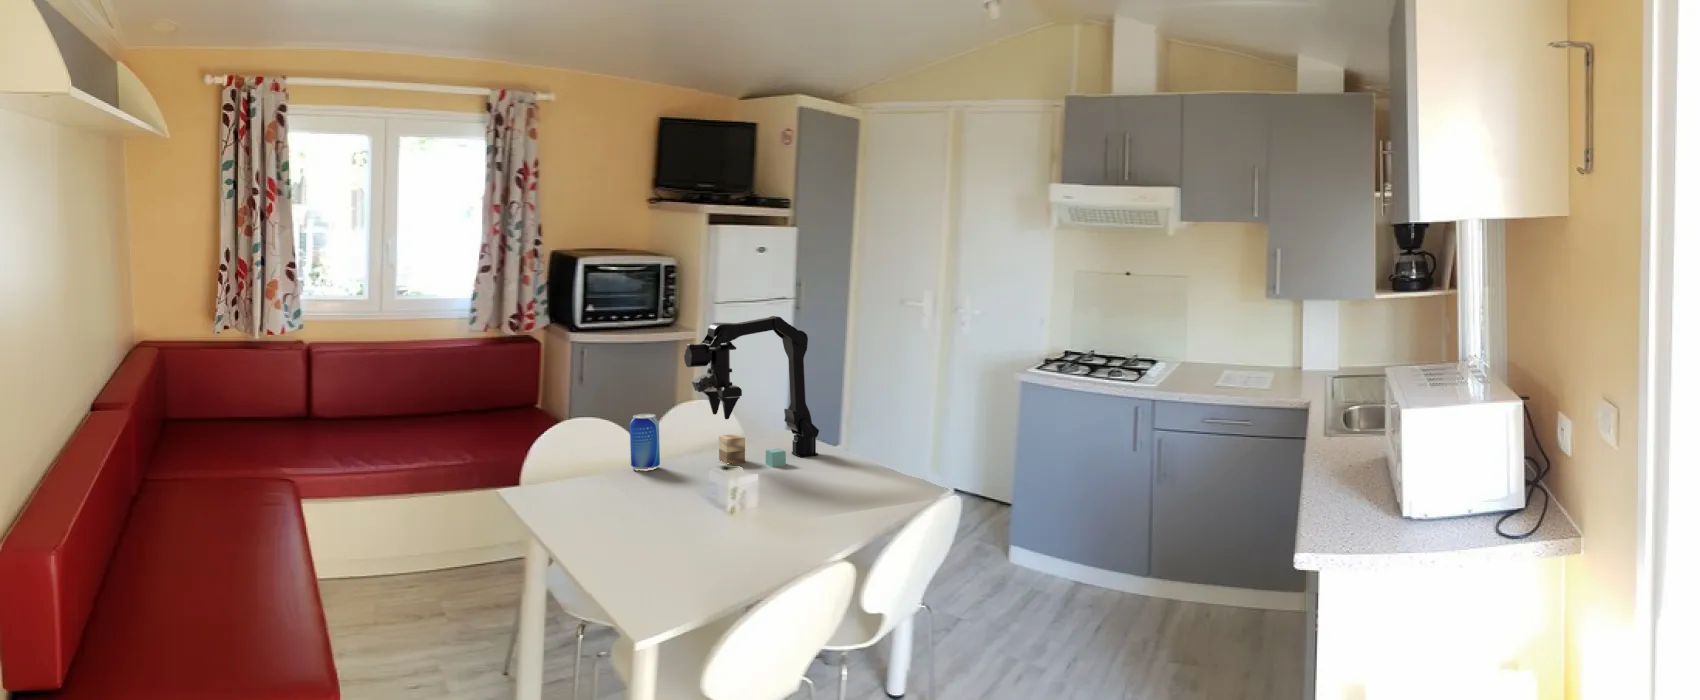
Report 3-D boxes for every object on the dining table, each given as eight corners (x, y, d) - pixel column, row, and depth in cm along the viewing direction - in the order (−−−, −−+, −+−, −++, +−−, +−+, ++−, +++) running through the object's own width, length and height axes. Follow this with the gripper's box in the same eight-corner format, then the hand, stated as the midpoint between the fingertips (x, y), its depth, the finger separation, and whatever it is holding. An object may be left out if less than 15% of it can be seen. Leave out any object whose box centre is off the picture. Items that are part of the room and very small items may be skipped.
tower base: (737, 459, 317) (737, 446, 317) (745, 463, 312) (745, 450, 311) (719, 461, 314) (718, 448, 314) (726, 465, 309) (726, 452, 309)
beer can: (663, 466, 307) (662, 413, 305) (655, 472, 299) (654, 418, 297) (636, 465, 308) (634, 412, 306) (627, 471, 300) (625, 417, 298)
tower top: (737, 446, 317) (737, 433, 316) (745, 450, 312) (745, 437, 311) (719, 448, 314) (718, 435, 313) (726, 452, 309) (726, 439, 308)
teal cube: (779, 462, 312) (779, 448, 312) (785, 465, 309) (785, 451, 308) (765, 464, 310) (765, 449, 310) (772, 467, 306) (772, 452, 306)
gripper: (683, 363, 310) (684, 414, 311) (706, 370, 294) (707, 424, 295) (717, 361, 315) (718, 411, 317) (742, 368, 299) (742, 420, 301)
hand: (720, 416), depth 307 cm, fingers open, 9 cm apart
